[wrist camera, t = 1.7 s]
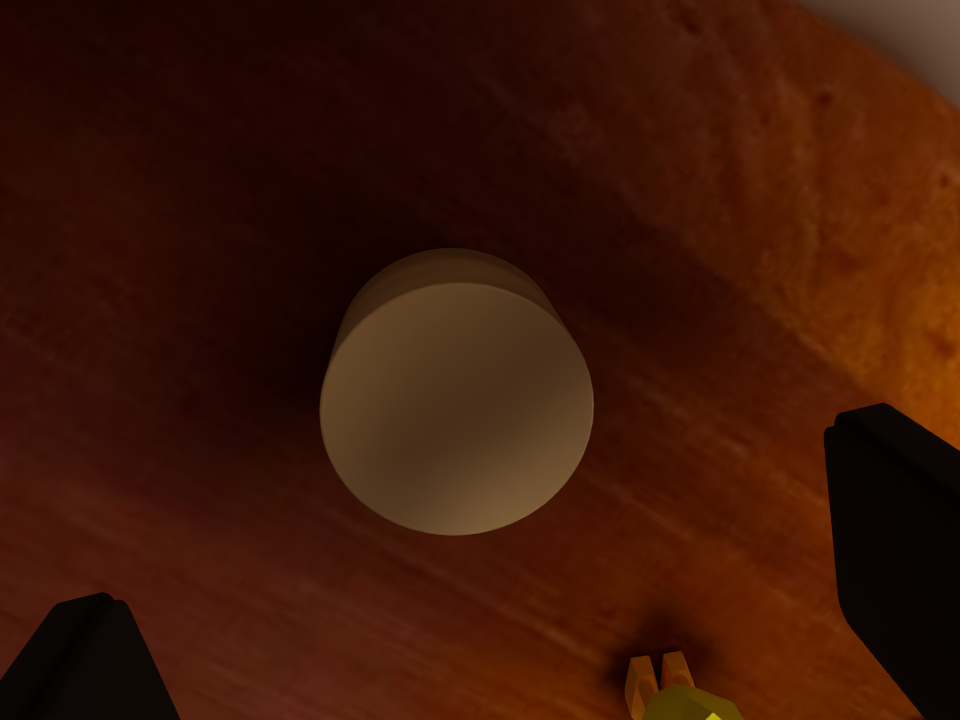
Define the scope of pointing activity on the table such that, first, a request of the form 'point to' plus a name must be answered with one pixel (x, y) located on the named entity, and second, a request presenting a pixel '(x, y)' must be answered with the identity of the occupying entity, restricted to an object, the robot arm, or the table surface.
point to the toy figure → (672, 693)
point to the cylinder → (454, 394)
